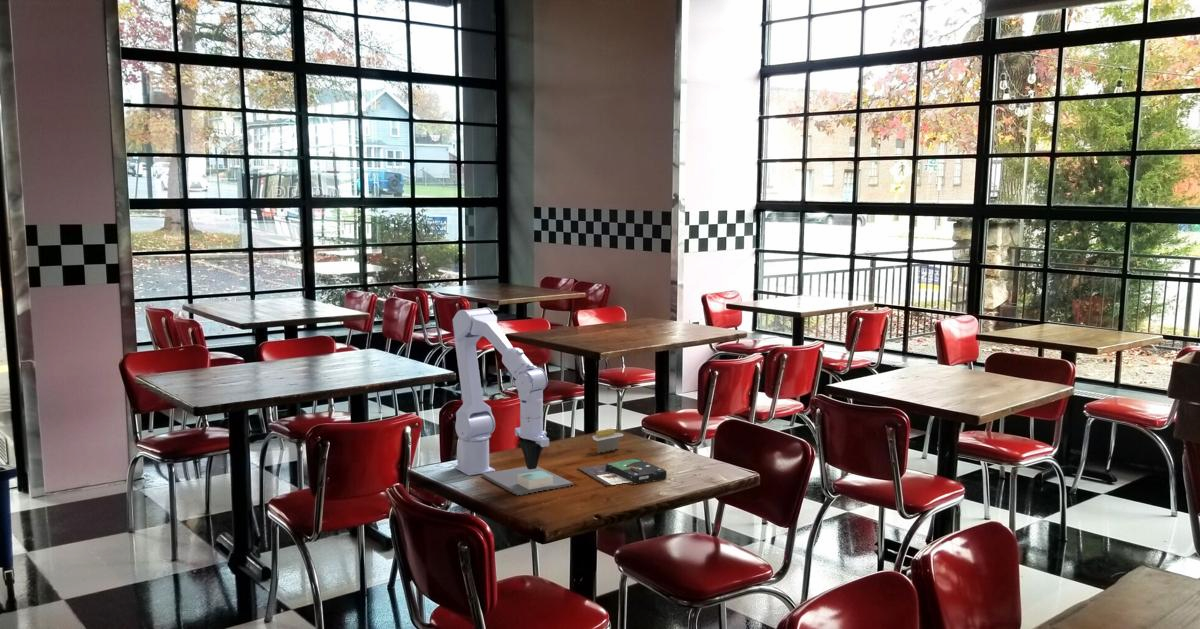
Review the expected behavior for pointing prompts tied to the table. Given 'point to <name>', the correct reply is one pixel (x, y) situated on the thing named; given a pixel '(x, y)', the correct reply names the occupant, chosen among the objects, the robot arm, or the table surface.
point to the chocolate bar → (604, 475)
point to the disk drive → (636, 470)
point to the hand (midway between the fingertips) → (531, 468)
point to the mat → (510, 480)
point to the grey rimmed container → (607, 440)
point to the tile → (535, 480)
